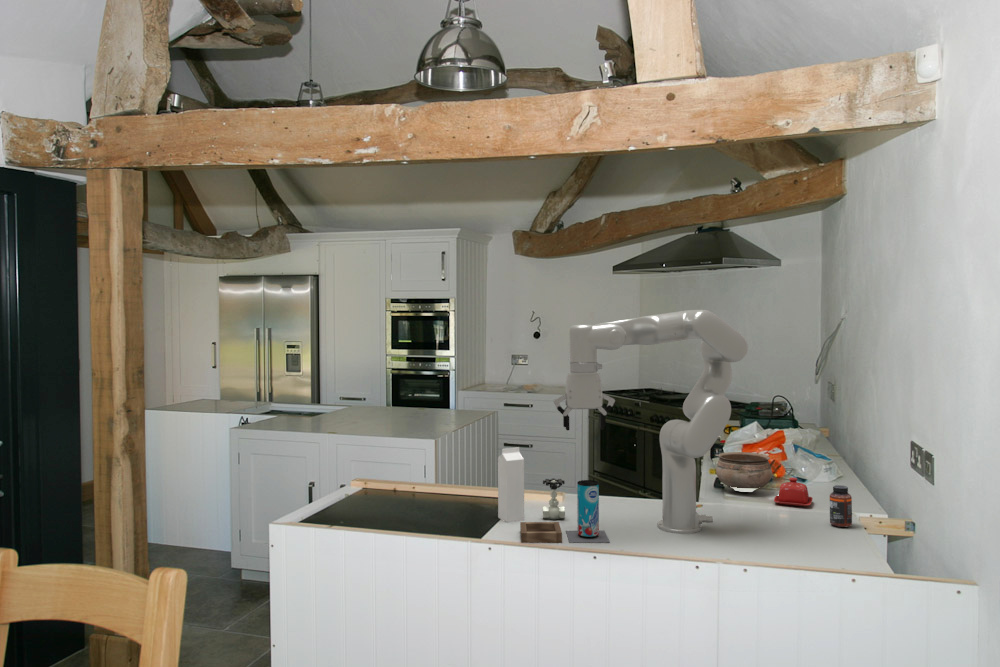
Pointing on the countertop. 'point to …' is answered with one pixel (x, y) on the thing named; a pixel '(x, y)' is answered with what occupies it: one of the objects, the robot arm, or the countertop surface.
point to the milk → (511, 485)
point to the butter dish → (793, 494)
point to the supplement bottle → (840, 507)
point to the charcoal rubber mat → (575, 538)
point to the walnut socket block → (540, 532)
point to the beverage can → (588, 508)
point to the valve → (553, 501)
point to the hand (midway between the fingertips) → (584, 429)
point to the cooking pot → (744, 469)
